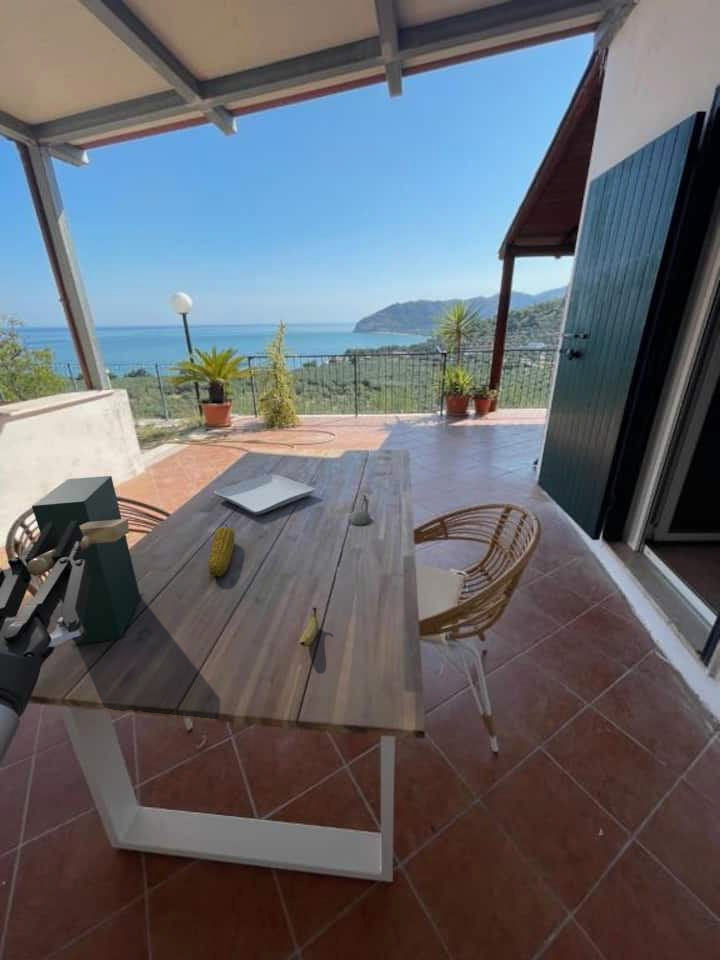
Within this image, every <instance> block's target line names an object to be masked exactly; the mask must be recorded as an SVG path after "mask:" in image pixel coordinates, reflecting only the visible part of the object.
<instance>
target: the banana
mask: <svg viewBox="0 0 720 960" xmlns="http://www.w3.org/2000/svg"><path fill="white" fill-rule="evenodd" d="M312 610H313V615H312V617H311V619H310V621H309V623H308V625H307V626H306V628H305V630H303V631H304V632H303V634H302V635H301V637H300V638H299V640H298V643H299V644H300V645H301V646H303V647H309V646H310V645H311V644H312V643H313V641H314V640H315V638H316V636H317V633H318V630H319V620H318V618H317V607H313V608H312Z"/></svg>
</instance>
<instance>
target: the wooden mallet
mask: <svg viewBox="0 0 720 960" xmlns="http://www.w3.org/2000/svg"><path fill="white" fill-rule="evenodd" d="M80 529H81V531H82V534H83V539H82V541H81V543H80V545H81V548H82V550H85V549H86V548H88V547H89V546H90V544H94V543H105V542H115V541H117V540H118V539H120V538H121V537H123V536H124V535H126V536H127V535H128V534H129V533H130V528H129V519H128V518H121V519H118V520H106V521H94V522H87V523H85V524H82V525H80ZM56 548H57V547H56ZM56 548H54V549H52V550H50V551H48V552H46V553H44V554H42V555H40V556H38V557H36V558H34V559H32V560H31V561H29V562H28V564H27V571H28V572H29V573H30V574H31V576H33V575H37V576H41V575H43V574H45V573H47V572H50V571H51V570H52V568H53V567H54V565H55V562H54V561H53V559H52V556H53V554H54V552H55V550H56Z"/></svg>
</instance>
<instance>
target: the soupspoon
mask: <svg viewBox="0 0 720 960" xmlns="http://www.w3.org/2000/svg"><path fill="white" fill-rule="evenodd" d="M362 496H363V498H362V497H361V501H360V506H359V510H354V511H353V512H351V513H350V515H349V521H350V522H351V523H352V524H353V525H355V526H363V525H366V524H368V523H369V521H370V517H371V516H370V514H369V512H368V511H365V510H363V506H364V502H365V501H364V500H366V499H367V495H366V494H362Z"/></svg>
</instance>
